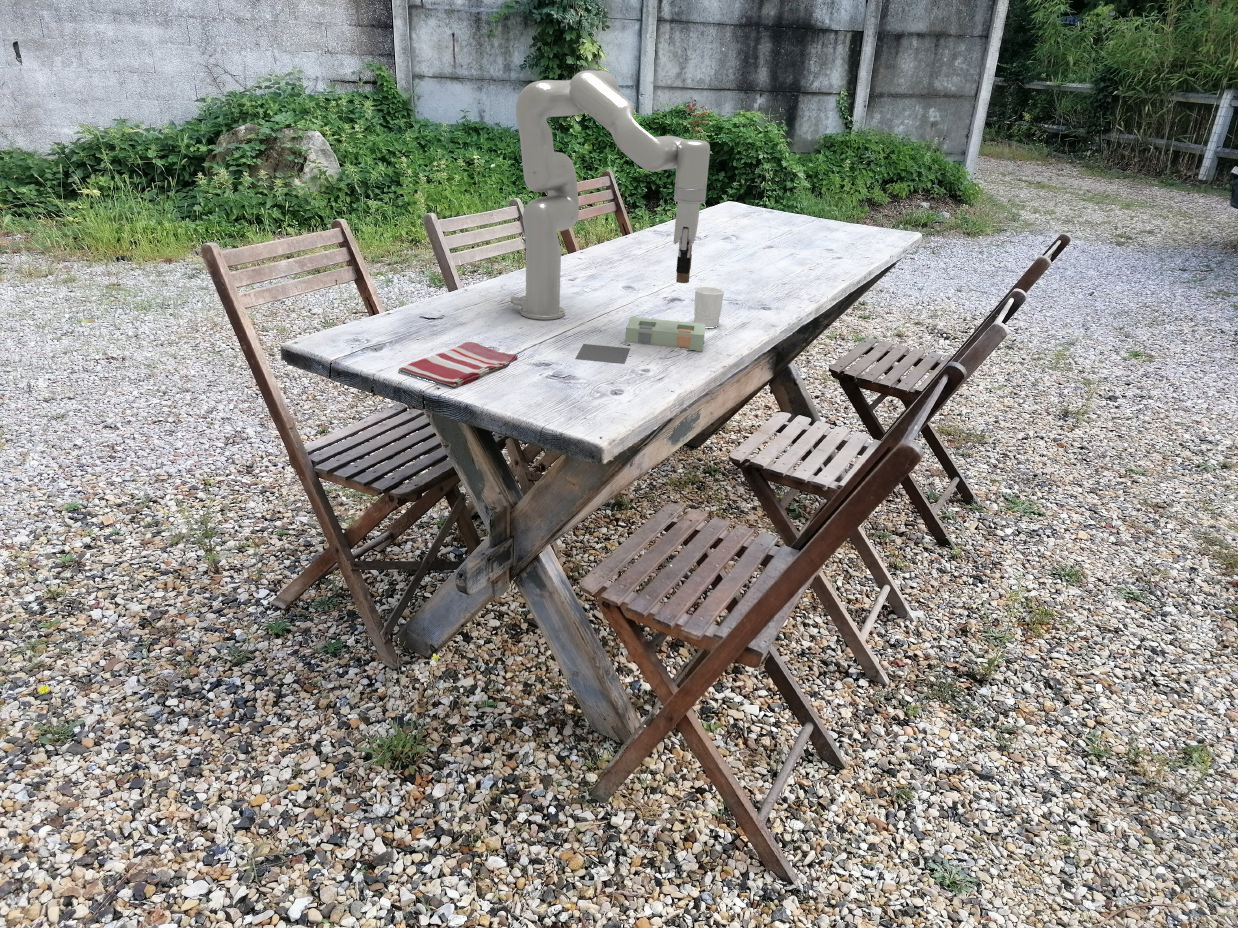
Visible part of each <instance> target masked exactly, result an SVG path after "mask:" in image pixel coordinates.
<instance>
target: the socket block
mask: <svg viewBox="0 0 1238 928" xmlns="http://www.w3.org/2000/svg"><path fill="white" fill-rule="evenodd" d="M705 326H706V324H702V323H694V322H687V321H680V320H679V321H678V320H669V319H668V320H666V319H658V318H657V319H656V318H649V317H648V318H647V317H635V316H630V318H629V319H628V322H627V323H626V327H625V335H624V336H625V339H624V342H625V343H634V344H643V345H644V344H645V345H653V346H654V345H655V346H666V347H674V348H676V347H677V348H685V349H686V350H687V349H688V350H696V351H695V352H697V351H702V352H703V351H704V350H703V349H704V344H703V343H704V342H705V333H706V328H705Z"/></svg>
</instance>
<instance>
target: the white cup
mask: <svg viewBox="0 0 1238 928" xmlns="http://www.w3.org/2000/svg"><path fill="white" fill-rule="evenodd" d="M724 293H725V291H724V290H723V289H722V288H718V287H714V286H699V287H696V288H695V293H694V294H695V295H694V309H693V310H694V311H693V313H694V315H693V316H694V320H693V323H702V324H706V326H705V327H716V326H718V327H719V321H720V317H721V311H722V308H723V301H724V300H723V299H724Z"/></svg>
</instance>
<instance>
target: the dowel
mask: <svg viewBox="0 0 1238 928" xmlns="http://www.w3.org/2000/svg"><path fill="white" fill-rule="evenodd" d="M679 243H680V240H679V242H678V244H679ZM681 244H682V241H681ZM687 244H689V242H687ZM687 248H688V247H687ZM692 251H693V245H691V248H690V257H691V254H692ZM678 254H679V251H678ZM678 254H677V255H678ZM690 264H691V265H692V259H691V260H690ZM690 274H691V270H690V271H689V274H682V273H677V272H676V279H675V281H676V283H678V284H679V283H680V284H688V283H690V276H691V275H690Z"/></svg>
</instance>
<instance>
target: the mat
mask: <svg viewBox="0 0 1238 928" xmlns="http://www.w3.org/2000/svg"><path fill="white" fill-rule="evenodd" d="M630 351H631V347H623V346H622V347H621V346H612V345H611V346H608V345H602V344H601V345H600V344H599V345H598V344H589V343H583V344H582V346H581V347H580V349H579V351H578V353H577V355H576V356H575V358H574V360H580V361H591V362H599V363H600V362H602V363H611V364H620V365H625V363H626V361H627V359H628V356H629V354H630Z"/></svg>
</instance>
